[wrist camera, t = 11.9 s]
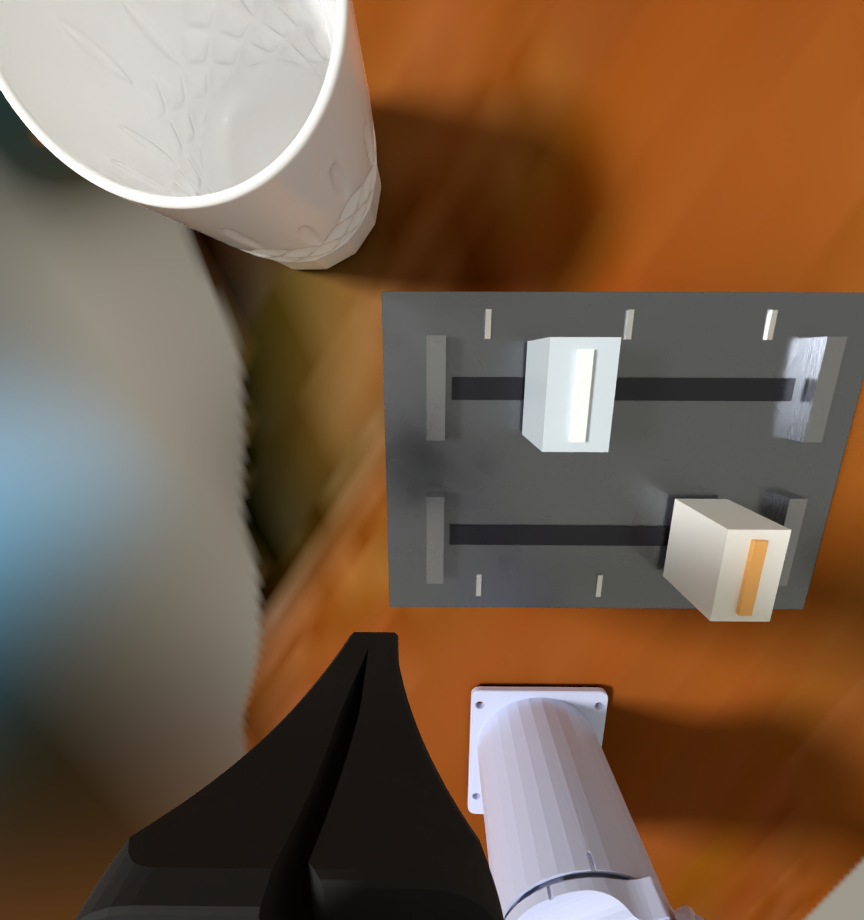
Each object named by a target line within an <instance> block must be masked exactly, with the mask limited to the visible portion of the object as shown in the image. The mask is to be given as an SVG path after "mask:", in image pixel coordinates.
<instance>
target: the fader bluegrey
mask: <svg viewBox="0 0 864 920" xmlns="http://www.w3.org/2000/svg"><path fill="white" fill-rule="evenodd" d="M620 344H621V337H548V338H542V339H537V340H532V341H527V357H526V374H525V391H524V408H523V425H522V435H523V436H524V437H526V438H527V439H528V440H529V441H530V442H531V443H533V444H534V445H535V446H536V447H537V448H538V449H539V450H541V451H542V452H608V451H609V442H610V433H611V424H612V415H613V406H614V397H615V389H616V380H617V371H618V362H619V353H620Z"/></svg>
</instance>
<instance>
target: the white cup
mask: <svg viewBox="0 0 864 920" xmlns="http://www.w3.org/2000/svg"><path fill="white" fill-rule="evenodd" d="M0 90H1V91H2V93H3V94H4V96H5V98H6V99H7V101H8V102H9V104H10V105H11V106H12V108H13V109H14V111H15V112H16V113H17V115H18V116H19V117H20V119H21V120H22V121H23V122H24V124H25V125H26V126H27V127H28V128H29V130H30V131H31V132H32V133H33V134H34V135H35V136H36V137H37V138H38V139H39V140H40V142H41V143H42V144H43V145H44V146H45V147H46V148H47V149H49V150H50V151H51V152H52V153H53V154H54V155H55V156H56V157H57V158H59V159H60V160H61V161H62V162H63V163H65V164H66V165H67V166H68V167H70V168H71V169H73V170H74V171H75V172H76V173H78V174H79V175H81V176H82V177H84V178H85V179H87V180H89V181H90V182H92V183H94V184H95V185H98V186H99V187H101V188H103V189H105V190H107V191H109V192H111V193H113V194H115V195H118V196H120V197H122V198H124V199H127V200H129V201H131V202H134V203H136V204H138V205H141V206H143V207H145V208H148V209H149V210H152V211H154V212H156V213H159V214H161V215H163V216H165V217H168V218H170V219H172V220H174V221H176V222H179V223H181V224H183V225H185V226H187V227H190V228H192V229H194V230H196V231H199V232H201V233H203V234H206V235H208V236H210V237H212V238H214V239H217V240H219V241H221V242H223V243H226V244H228V245H230V246H232V247H235V248H238V249H240V250H243V251H245V252H248V253H251V254H253V255H255V256H258V257H262V258H266V259H271V260H275V261H277V262H279V263H281V264H283V265H285V266H287V267H289V268H291V269H293V270H311V269H328V268H330V267H332V266H334V265H336V264H337V263H339V262H341V261H343V260H345V259H346V258H348V257H350V256H352V255H354V254H355V253H356V252H357V251H358V249H359V248H360V246H361V245H362V243H363V242H364V240H365V239H366V237H367V236H368V234H369V233H370V231H371V230H372V228H373V227H374V225H375V223H376V217H377V211H378V205H379V199H380V193H381V180H380V176H379V171H378V166H377V148H376V137H375V130H374V123H373V117H372V111H371V102H370V94H369V88H368V82H367V77H366V72H365V67H364V61H363V56H362V50H361V45H360V39H359V34H358V28H357V23H356V17H355V12H354V6H353V0H0Z"/></svg>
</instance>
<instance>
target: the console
mask: <svg viewBox="0 0 864 920" xmlns="http://www.w3.org/2000/svg"><path fill="white" fill-rule="evenodd" d="M382 324H383V364H384V404H385V443H386V483H387V523H388V562H389V602H390V607H533V608H680V609H697V608H696V607H695V606H694V605H693V604H692V603H691V602H690V601H688V600H687V599H686V598H685V597H684V596H683V595H682V594H681V593H680V592H679V591H678V590H677V589H676V588H675V587H674V586H673V585H672V584H671V583H670V582H669V581H667V580H666V579H665V578H664V577H663V572H664V565H665V559H666V553H667V546H668V540H669V534H670V528H671V521H672V515H673V509H674V502H675V499H728V500H730V501H732V502H734V503H736V504H739V505H741V506H743V507H745V508H747V509H749V510H751V511H753V512H755V513H757V514H759V515H761V516H764V517H766V518H768V519H770V520H772V521H774V522H776V523H778V524H780V525H782V526H784V527H786V528H789V529H791V534H790V538H789V543H788V547H787V551H786V555H785V559H784V564H783V568H782V572H781V576H780V580H779V585H778V589H777V593H776V597H775V601H774V606H773V609H803V608H804V605H805V601H806V597H807V593H808V589H809V585H810V581H811V578H812V574H813V570H814V566H815V562H816V558H817V554H818V551H819V547H820V543H821V539H822V535H823V531H824V527H825V524H826V520H827V516H828V512H829V508H830V504H831V500H832V497H833V493H834V489H835V485H836V481H837V477H838V473H839V470H840V466H841V462H842V458H843V454H844V450H845V446H846V442H847V439H848V435H849V431H850V427H851V423H852V419H853V415H854V412H855V408H856V404H857V400H858V396H859V392H860V388H861V385H862V381H863V377H864V293H790V292H410V291H382ZM548 337H621V344H620V353H619V362H618V371H617V380H616V389H615V397H614V406H613V415H612V424H611V433H610V442H609V451H608V452H542V451H541V450H539V449H538V448H537V447H536V446H535V445H534V444H533V443H531V442H530V441H529V440H528V439H527V438H526V437H524V436H523V435H522V425H523V408H524V391H525V374H526V357H527V341H532V340H537V339H542V338H548Z"/></svg>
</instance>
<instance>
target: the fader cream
mask: <svg viewBox="0 0 864 920" xmlns="http://www.w3.org/2000/svg"><path fill="white" fill-rule="evenodd" d="M790 534H791V529H789V528H786V527H784V526H782V525H780V524H778V523H776V522H774V521H772V520H770V519H768V518H766V517H764V516H761V515H759V514H757V513H755V512H753V511H751V510H749V509H747V508H745V507H743V506H741V505H739V504H736V503H734V502H732V501H730V500H728V499H675V502H674V509H673V515H672V521H671V528H670V534H669V540H668V546H667V553H666V559H665V565H664V572H663V577H664V578H665V579H666V580H667V581H669V582H670V583H671V584H672V585H673V586H674V587H675V588H676V589H677V590H678V591H679V592H680V593H681V594H682V595H683V596H684V597H685V598H686V599H687V600H688V601H690V602H691V603H692V604H693V605H694V606H695V607H696V608H697V609H698V610H699V611H700V612H701V613H702V614H703V615H704V616H705V617H706V618H707V619H708V620H709V621H753V622H770V618H771V614H772V610H773V606H774V601H775V597H776V593H777V589H778V585H779V580H780V576H781V572H782V568H783V564H784V559H785V555H786V551H787V547H788V543H789V538H790Z"/></svg>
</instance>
